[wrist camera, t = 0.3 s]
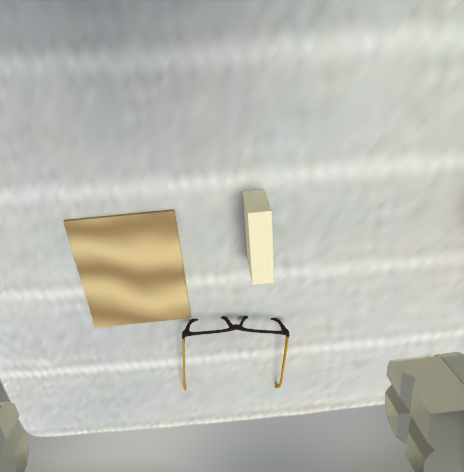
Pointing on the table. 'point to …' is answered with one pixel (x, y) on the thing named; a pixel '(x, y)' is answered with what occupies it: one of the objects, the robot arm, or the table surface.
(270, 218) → the card box
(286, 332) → the eyeglasses
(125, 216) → the mat
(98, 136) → the table surface
